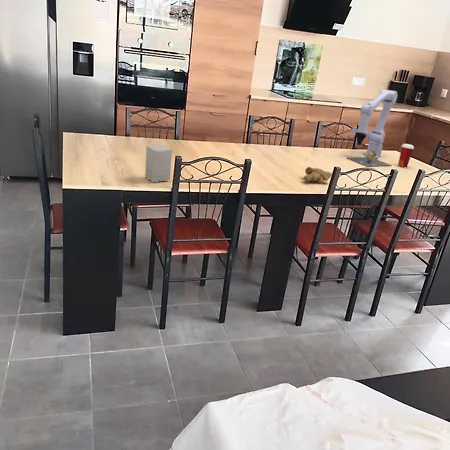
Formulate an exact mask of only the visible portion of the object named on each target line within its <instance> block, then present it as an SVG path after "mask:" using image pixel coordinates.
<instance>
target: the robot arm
mask: <svg viewBox="0 0 450 450" xmlns="http://www.w3.org/2000/svg"><path fill="white" fill-rule="evenodd" d="M397 99H398V92H397V90H390V89H385V88H383V89H381V91H380V92H379V95H378V96H377V97H376V98H372V99H371V100H369V102H368V103H366V104H362V106H361V107H360V111H359V112H360V117H359V122H358V127H357V128H355V127H353V128H352V129H351V132H353V133H355V136H356V142H357V143H356V144H357V146H361V145H362V143H363V141H364V140H365V139H366V138H367V141H368V145H367V150H366V152H364V153H363V155H365V156H366V155H368V153H369V152H372V151H375V153H376V156H377V157H378V158H381V157H382V155H381V154H382V151H383V143H384V141H385V136H386V132H385V131H384V127H385V126H386V125H385V124H386V123H387V120H388V117H389V115H390V112H391V110H392V107H393V106H394V105H395V104H396V102H397ZM380 103H382V104H383V107H382V110H381V112H380V115H379V117H378V119H377V122H376V125H375V127H374V128H371V129H370V131H368V128H369V125H370V124H369V123H370V119H371V116H372V115H373V113H374V111H375V110H376V109H377V108H378V107H379V106H380Z"/></svg>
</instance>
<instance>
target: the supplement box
mask: <svg viewBox="0 0 450 450" xmlns="http://www.w3.org/2000/svg"><path fill="white" fill-rule="evenodd" d="M145 151H146V154H145V156H146V157H145V174H144V175H145V176H146V177H147V178H149V179H150V180H151V181H152V182H151V181H150V180H149V179H148V180H149V181H150V182H151V183H153V182H155V183H160V182H159V181H168V180H170V181H171V171H172V156H173V155H172V154H173V150H172V148H171V149H170V148H169V147H167V146H165V145H147V146H146V149H145ZM145 176H144V177H145ZM146 177H145V178H146ZM147 178H146V179H147ZM168 182H169V181H168Z"/></svg>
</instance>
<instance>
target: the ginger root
mask: <svg viewBox="0 0 450 450" xmlns="http://www.w3.org/2000/svg"><path fill="white" fill-rule="evenodd" d="M305 174H306V175H304V176H303V177H302V178H303V180H304V181H306V182H317V183H319V184H323V183H324V181H325V182H327V181H329V179H331V177H332V176H333V173H332V172H329V171H325V170H323V169H321V168H318V167H314V168H313V167H310V166H308V167H306V168H305Z"/></svg>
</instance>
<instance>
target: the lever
mask: <svg viewBox="0 0 450 450" xmlns="http://www.w3.org/2000/svg"><path fill="white" fill-rule="evenodd" d="M373 156H376V153H375V151H372V152H369V153H368V157H367V159H368V160H372V159H373Z"/></svg>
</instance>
